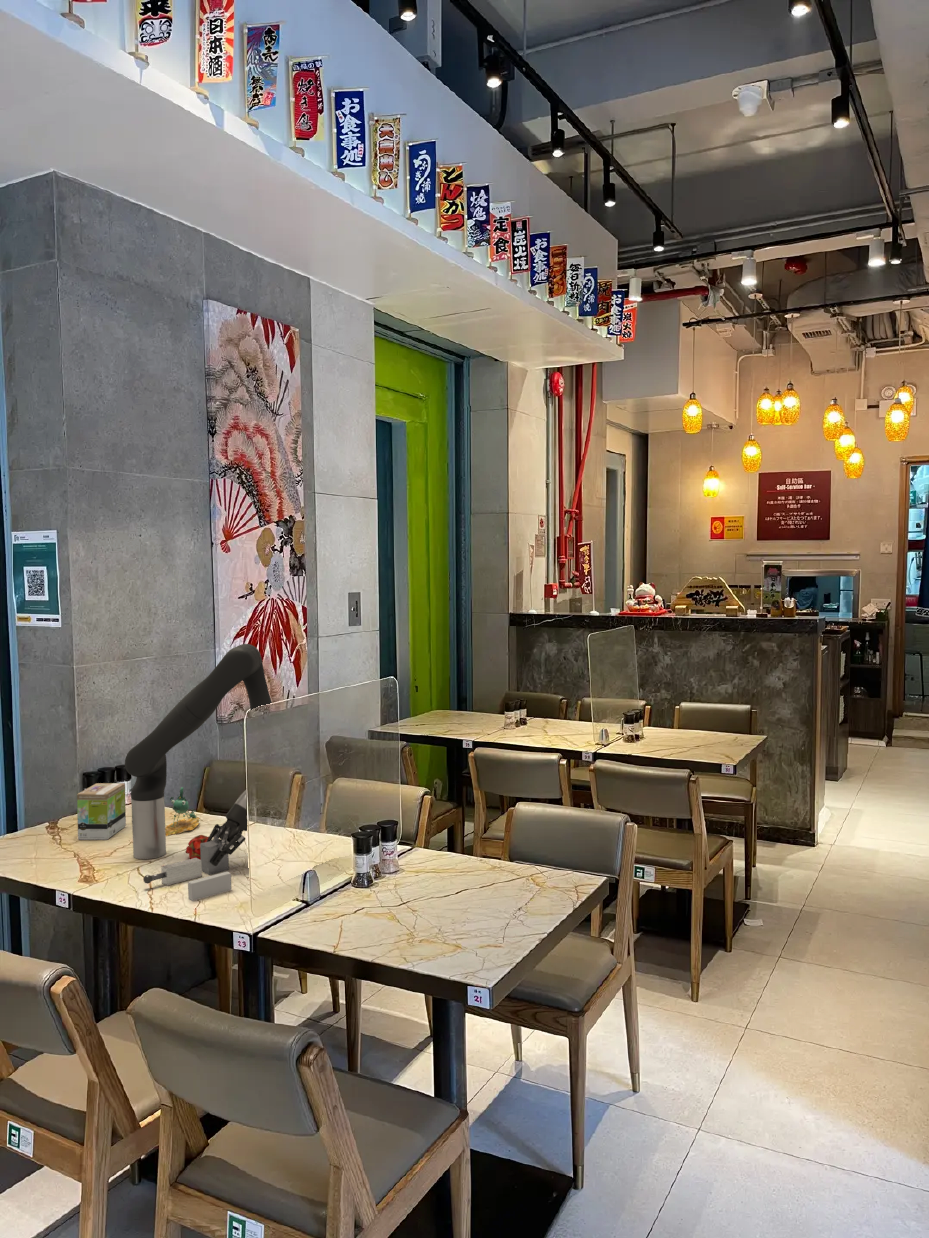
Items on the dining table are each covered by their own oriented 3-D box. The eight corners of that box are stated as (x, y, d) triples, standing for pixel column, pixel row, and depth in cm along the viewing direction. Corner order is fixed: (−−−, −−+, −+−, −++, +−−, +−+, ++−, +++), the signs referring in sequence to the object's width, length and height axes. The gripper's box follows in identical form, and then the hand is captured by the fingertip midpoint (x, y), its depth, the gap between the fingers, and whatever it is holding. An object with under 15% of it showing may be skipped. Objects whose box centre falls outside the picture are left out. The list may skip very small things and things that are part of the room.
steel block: (201, 875, 259) (200, 843, 258) (220, 870, 263) (220, 838, 262) (209, 879, 256) (208, 847, 255) (229, 874, 260) (228, 842, 259)
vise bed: (153, 884, 252) (152, 863, 252) (191, 874, 260) (190, 854, 259) (192, 905, 236) (191, 883, 236) (231, 894, 244) (230, 873, 243)
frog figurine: (215, 823, 310) (210, 780, 308) (175, 844, 295) (170, 799, 292) (192, 819, 315) (188, 777, 312) (153, 839, 299) (148, 795, 296)
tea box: (109, 840, 293) (107, 793, 292) (77, 840, 293) (75, 793, 292) (127, 826, 308) (125, 781, 307) (96, 826, 308) (94, 782, 307)
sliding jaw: (141, 888, 246) (140, 871, 246) (196, 873, 256) (196, 857, 256) (146, 890, 244) (145, 873, 243) (201, 876, 254) (201, 860, 254)
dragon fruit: (192, 862, 275) (216, 876, 268) (172, 852, 269) (197, 866, 262) (208, 836, 278) (232, 849, 270) (189, 825, 272) (213, 839, 264)
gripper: (224, 798, 268) (186, 849, 261) (250, 807, 258) (211, 860, 250) (241, 812, 272) (204, 863, 265) (268, 822, 262) (230, 875, 254)
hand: (208, 861), depth 258 cm, fingers closed on steel block, 4 cm apart
